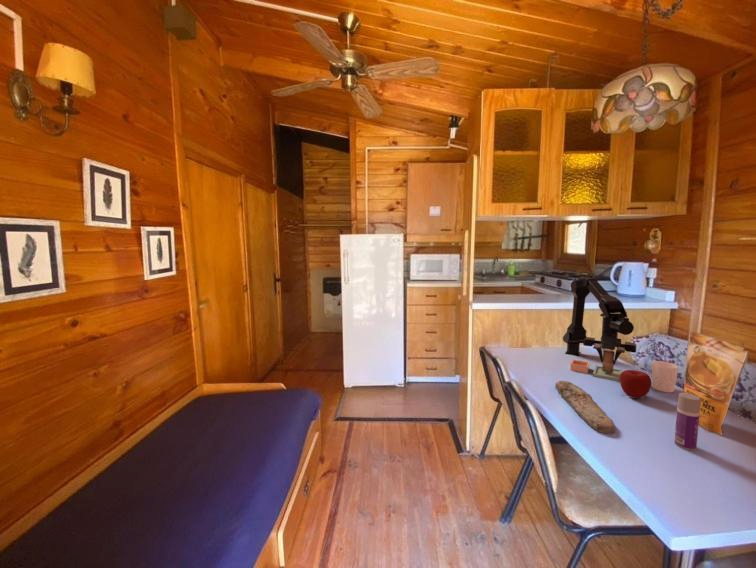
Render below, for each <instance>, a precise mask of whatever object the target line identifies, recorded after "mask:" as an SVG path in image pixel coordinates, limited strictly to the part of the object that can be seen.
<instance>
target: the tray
mask: <svg viewBox="0 0 756 568" xmlns="http://www.w3.org/2000/svg"><path fill="white" fill-rule="evenodd" d="M622 372H623V370H622V369H618V368H613V373H607V372H604V371H602V365H601V366H600V365H595V366H594V369H593V371H592V377H594V378H600V379H604V380H605V379H606V380H610V381H615V382H620V374H621V373H622Z"/></svg>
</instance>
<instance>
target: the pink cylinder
mask: <svg viewBox="0 0 756 568" xmlns="http://www.w3.org/2000/svg"><path fill="white" fill-rule="evenodd" d="M678 372H679V366H678V365H676V364H674V363H672V362H668V361H661V360H660V361H658V360H655V361H652V362H651V382H652V383H651V388H653V389H654V390H656V391H659V392H662V393H663V392H664V393H674V392H675V391H676V389H675V388H676V383H677V377H678Z"/></svg>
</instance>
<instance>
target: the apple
mask: <svg viewBox="0 0 756 568" xmlns="http://www.w3.org/2000/svg"><path fill="white" fill-rule="evenodd" d="M619 383H620V387H621V389H622V391H623V392H624V394H625V395H626V396H628V397H629V398H632V399H641V398H644V397H645V396H646V395H648V394H649V392H650V390H651V388H652V377H650V375H649V374H647V373H646V372H644V371H641V370H636V369H626V370H622V373H621V374H620V381H619Z"/></svg>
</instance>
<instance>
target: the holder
mask: <svg viewBox="0 0 756 568" xmlns="http://www.w3.org/2000/svg"><path fill="white" fill-rule="evenodd" d="M590 365H591V363H590V362H589V361H584V360H578V359H577V360H576V359H572V360H571V362H570V368H569V369H570V371H573V372H577V373H583V374H584V373H585V374H588V373H589V371H590Z"/></svg>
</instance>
